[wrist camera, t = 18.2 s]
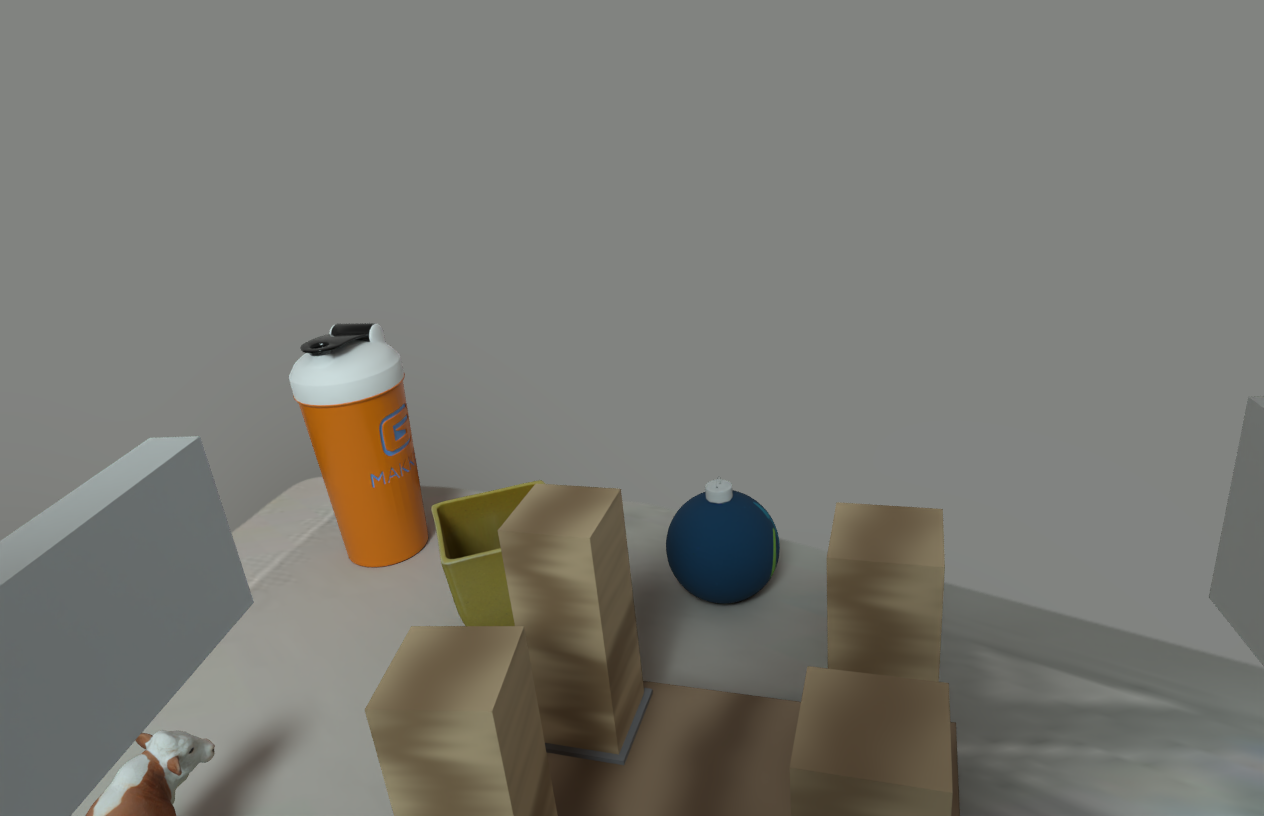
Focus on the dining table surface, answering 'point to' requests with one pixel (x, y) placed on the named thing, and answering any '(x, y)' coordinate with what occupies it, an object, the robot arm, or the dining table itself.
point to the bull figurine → (153, 775)
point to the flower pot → (477, 553)
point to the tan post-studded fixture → (729, 722)
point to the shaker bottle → (363, 441)
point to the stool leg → (461, 725)
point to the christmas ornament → (722, 545)
